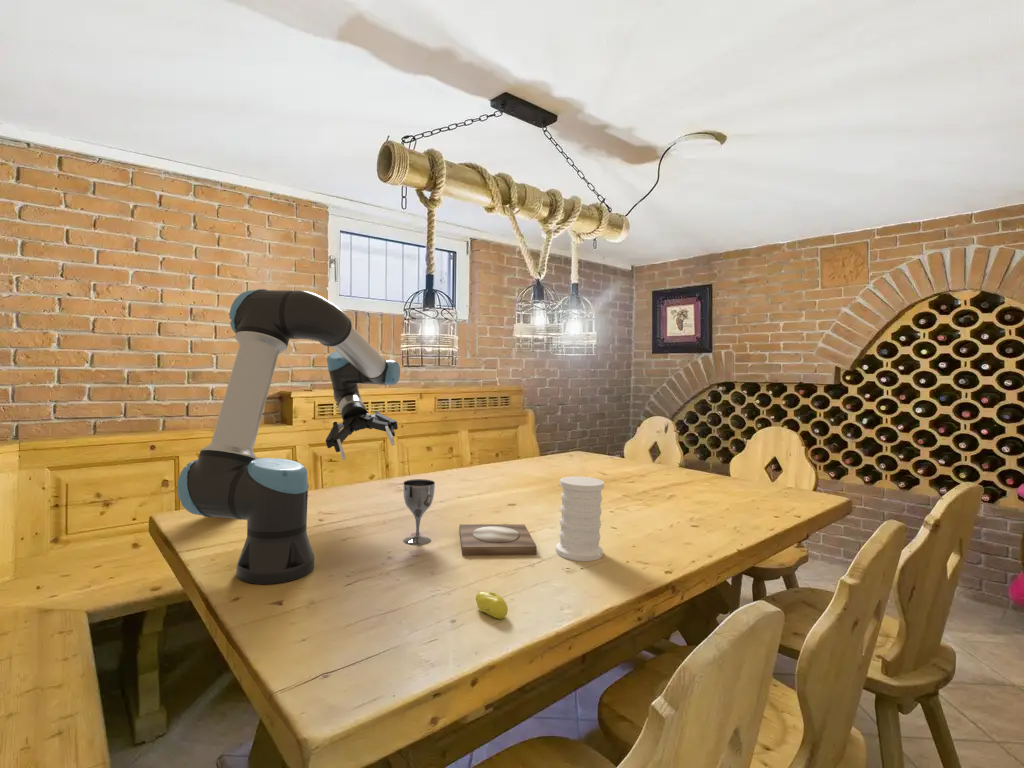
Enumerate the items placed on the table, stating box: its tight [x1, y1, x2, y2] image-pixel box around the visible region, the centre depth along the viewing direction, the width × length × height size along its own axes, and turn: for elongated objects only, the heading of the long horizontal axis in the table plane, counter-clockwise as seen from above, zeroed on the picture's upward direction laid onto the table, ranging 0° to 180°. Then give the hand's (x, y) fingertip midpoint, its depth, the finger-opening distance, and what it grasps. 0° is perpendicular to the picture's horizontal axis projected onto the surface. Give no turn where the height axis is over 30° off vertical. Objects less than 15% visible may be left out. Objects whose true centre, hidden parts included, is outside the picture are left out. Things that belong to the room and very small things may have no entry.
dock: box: [458, 523, 537, 556], centre depth 138 cm, size 18×18×2 cm
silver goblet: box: [402, 478, 436, 546], centre depth 137 cm, size 8×8×15 cm
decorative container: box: [555, 475, 605, 562], centre depth 133 cm, size 12×12×18 cm
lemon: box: [475, 591, 509, 620], centre depth 99 cm, size 4×8×4 cm, turn 38°
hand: (368, 448), depth 147 cm, fingers open, 13 cm apart
